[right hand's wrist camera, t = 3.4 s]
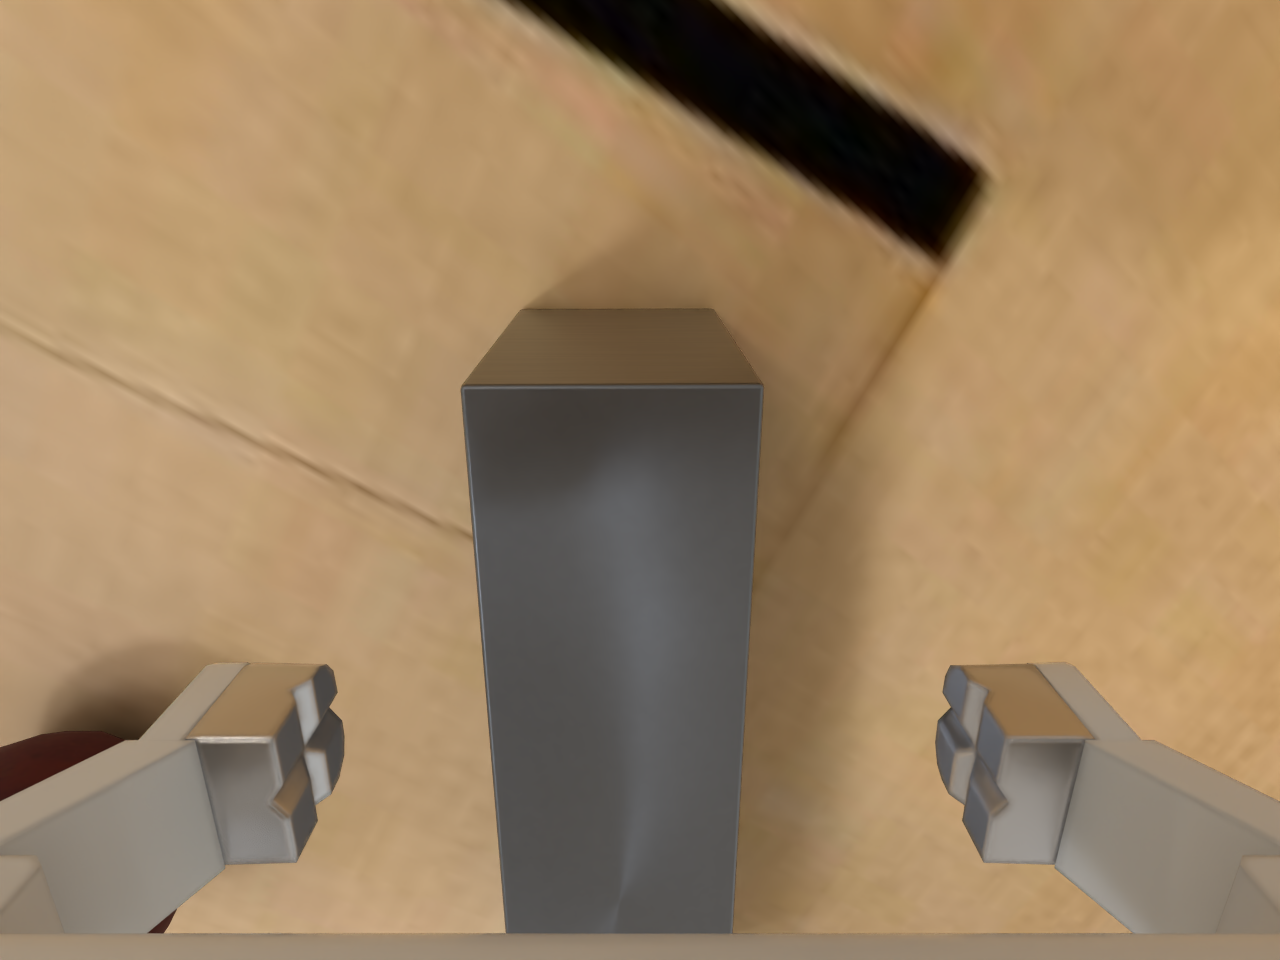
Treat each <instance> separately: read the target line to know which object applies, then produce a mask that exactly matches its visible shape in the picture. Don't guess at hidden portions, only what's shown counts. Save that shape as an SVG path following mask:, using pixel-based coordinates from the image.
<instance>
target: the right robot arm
mask: <svg viewBox="0 0 1280 960" xmlns="http://www.w3.org/2000/svg"><path fill="white" fill-rule="evenodd" d="M336 694H337V687H336V682H335V677H334V672H333V670H332V669H331V668H330V667H329V666H328V665H327V664H288V663H252V664H251V663H248V662H244V663H213V664H210V665H206V666H205V667H204V668H203V669H202V670H201V671H200V673H199V674H198V675H197V676H196V677H195V678H194V679H193V680H192V681H191V683H190V684H189V685H188V686H187V687H186V688H185V689H184V690H183V691H182V692H181V694H180V695H179V696H178V697H177V698H176V699H175V700H174V701H173V702H172V703H171V705H170V706H169V707H168V708H167V709H166V710H165V711H164V712H163V713H162V714H161V716H160V717H159V718H158V719H157V720H156V721H155V722H154V723H153V724H152V726H151V727H150V728H149V729H148V730H147V731H146V732H145V733H144V734H143V735H142V737H141V738H140V739H139V740H125V741H123V742H121V743H119V744H117V745H115V746H113V747H111V748H109V749H107V750H105V751H102V752H100V753H98V754H96V755H94V756H92V757H90V758H88V759H86V760H84V761H82V762H80V763H78V764H76V765H74V766H72V767H70V768H68V769H66V770H64V771H62V772H59V773H57V774H55V775H53V776H51V777H49V778H47V779H45V780H43V781H41V782H39V783H37V784H35V785H33V786H31V787H29V788H27V789H25V790H23V791H21V792H18V793H16V794H14V795H12V796H10V797H8V798H6V799H4V800H2V801H0V960H1280V801H1278V800H1276V799H1273V798H1271V797H1269V796H1267V795H1265V794H1263V793H1261V792H1259V791H1257V790H1255V789H1253V788H1251V787H1249V786H1247V785H1245V784H1243V783H1241V782H1239V781H1237V780H1235V779H1233V778H1231V777H1229V776H1226V775H1224V774H1222V773H1220V772H1218V771H1216V770H1214V769H1212V768H1210V767H1208V766H1206V765H1204V764H1202V763H1200V762H1198V761H1196V760H1194V759H1192V758H1190V757H1188V756H1186V755H1184V754H1182V753H1180V752H1177V751H1175V750H1173V749H1171V748H1169V747H1167V746H1165V745H1163V744H1161V743H1159V742H1157V741H1155V740H1141V739H1140V738H1139V737H1138V735H1137V734H1136V733H1135V732H1134V731H1133V730H1132V729H1131V728H1130V727H1129V726H1128V724H1127V723H1126V722H1125V721H1124V720H1123V719H1122V718H1121V717H1120V716H1119V714H1118V713H1117V712H1116V711H1115V710H1114V709H1113V708H1112V707H1111V706H1110V705H1109V703H1108V702H1107V701H1106V700H1105V699H1104V698H1103V697H1102V696H1101V695H1100V694H1099V692H1098V691H1097V690H1096V689H1095V688H1094V687H1093V686H1092V685H1091V684H1090V682H1089V681H1088V680H1087V679H1086V678H1085V677H1084V676H1083V675H1082V674H1081V673H1080V671H1079V670H1078V669H1077V668H1076V667H1075V666H1073V665H1071V664H1068V663H1066V662H1052V663H1027V664H999V665H950V667H949V669H948V671H947V673H946V676H945V681H944V686H943V694H944V696H945V698H946V699H947V701H948V703H949V704H950V706H951V708H950V709H949V710H948V711H947V712H946V713H945V714H944V715H943V716H942V717H941V718H940V719H939V720H938V724H937V732H936V741H935V745H936V756H937V765H938V768H939V772H940V775H941V778H942V781H943V783H944V785H945V787H946V789H947V791H948V793H949V795H951V796H952V797H954V798H955V799H957V800H958V801H959V802H961V803H962V804H964V805H965V807H964V813H963V819H962V821H963V823H964V825H965V827H966V829H967V831H968V833H969V835H970V837H971V839H972V841H973V843H974V845H975V846H976V848H977V850H978V852H979V854H980V856H981V858H982V860H983V862H984V863H1016V864H1052V865H1055V869H1056V870H1058V871H1059V872H1060V873H1061V874H1063V875H1064V876H1065V877H1066V878H1067V879H1069V880H1070V881H1071V882H1072V883H1073V884H1075V885H1076V886H1077V887H1078V888H1079V889H1081V890H1082V891H1083V892H1084V893H1085V894H1087V895H1088V896H1089V897H1090V898H1091V899H1093V900H1094V901H1095V902H1096V903H1097V904H1099V905H1100V906H1101V907H1102V908H1104V909H1105V910H1106V911H1107V912H1108V913H1110V914H1111V915H1112V916H1113V917H1114V918H1116V919H1117V920H1118V921H1119V922H1120V923H1122V924H1123V925H1124V926H1125V927H1126V928H1128V929H1129V930H1130V931H1131V932H1132V933H1008V934H561V933H321V934H160V933H148V932H149V931H150V930H151V929H153V928H154V927H155V926H156V925H157V924H159V923H160V922H161V921H162V920H163V919H165V918H166V917H167V916H168V915H170V914H171V913H172V912H173V911H174V910H176V909H177V908H178V907H179V906H180V905H182V904H183V903H184V902H185V901H186V900H188V899H189V898H190V897H191V896H192V895H194V894H195V893H196V892H197V891H199V890H200V889H201V888H202V887H203V886H205V885H206V884H207V883H208V882H209V881H211V880H212V879H213V878H214V877H215V876H217V875H218V874H219V873H220V872H221V871H223V870H224V869H225V865H228V864H263V863H296V862H297V860H298V858H299V856H300V854H301V852H302V850H303V849H304V847H305V845H306V843H307V841H308V839H309V837H310V835H311V833H312V831H313V829H314V827H315V825H316V823H317V821H318V819H317V813H316V807H315V805H316V804H318V803H319V802H321V801H322V800H323V799H325V798H326V797H328V796H329V795H331V793H332V791H333V789H334V787H335V785H336V783H337V781H338V779H339V776H340V771H341V767H342V762H343V758H344V730H343V724H342V720H341V719H340V718H339V717H338V716H337V715H336V714H335V713H334V712H333V711H332V710H331V709H330V708H329V706H330V704H331V703H332V701H333V699H334V698H335V696H336Z"/></svg>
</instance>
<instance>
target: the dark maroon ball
mask: <svg viewBox="0 0 1280 960" xmlns="http://www.w3.org/2000/svg"><path fill="white" fill-rule="evenodd" d="M123 741H125V740H124V739H121V738H118V737H116V736H113V735H110V734H108V733H105V732H102V731H64V732H57V733H49V734H41V735H38V736H35V737H32V738H29V739H26V740H22V741H19V742H16V743H13V744H10V745H7V746H3V747H0V801H2V800H4V799H6V798H8V797H10V796H12V795H14V794H16V793H18V792H21V791H23V790H25V789H27V788H29V787H31V786H33V785H35V784H37V783H39V782H41V781H43V780H45V779H47V778H49V777H51V776H53V775H55V774H57V773H59V772H62V771H64V770H66V769H68V768H70V767H72V766H74V765H76V764H78V763H80V762H82V761H84V760H86V759H88V758H90V757H92V756H94V755H96V754H98V753H100V752H102V751H105V750H107V749H109V748H111V747H113V746H115V745H117V744H119V743H121V742H123ZM176 910H177V909H176ZM176 910H174V911H173V912H172V913H171V914H170V915H168V916H167V917H166V918H165V919H163V920H162V921H161V922H160V923H159V924H157V925H156V926H155V927H154V928H153V929H151V930H150V931H149V932H148V933H160V934H163V933H164V932H165V930H166V929H167V927H168V926H169V924H170V922H171V920H172V918H173V916H174V914H175V912H176Z"/></svg>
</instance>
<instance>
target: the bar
mask: <svg viewBox="0 0 1280 960" xmlns="http://www.w3.org/2000/svg"><path fill="white" fill-rule="evenodd" d="M763 397H764V386H763V384H762V382H761V381H760V379H759V378H758V376H757V375H756V373H755V372H754V370H753V369H752V367H751V366H750V364H749V363H748V361H747V359H746V358H745V356H744V355H743V353H742V352H741V350H740V349H739V347H738V346H737V344H736V343H735V341H734V340H733V338H732V337H731V335H730V334H729V332H728V330H727V329H726V327H725V326H724V324H723V323H722V321H721V320H720V318H719V317H718V315H717V314H716V312H715V311H714V310H713V309H522V310H520V311H519V312H518V314H517V315H516V316H515V318H514V319H513V320H512V321H511V323H510V324H509V325H508V327H507V328H506V329H505V330H504V332H503V333H502V334H501V336H500V337H499V338H498V339H497V341H496V342H495V343H494V345H493V346H492V347H491V349H490V350H489V351H488V352H487V354H486V355H485V356H484V358H483V359H482V360H481V361H480V363H479V364H478V365H477V367H476V368H475V369H474V370H473V372H472V373H471V374H470V376H469V377H468V378H467V379H466V381H465V382H464V383H463V385H462V386H461V400H462V412H463V424H464V436H465V448H466V460H467V472H468V484H469V496H470V508H471V520H472V532H473V544H474V556H475V568H476V580H477V592H478V604H479V616H480V628H481V640H482V652H483V664H484V676H485V688H486V700H487V712H488V724H489V736H490V749H491V761H492V773H493V785H494V797H495V809H496V821H497V833H498V845H499V857H500V869H501V881H502V893H503V905H504V917H505V929H506V933H561V934H733V917H734V900H735V882H736V865H737V848H738V830H739V813H740V796H741V778H742V761H743V744H744V726H745V709H746V692H747V674H748V657H749V640H750V622H751V605H752V588H753V570H754V553H755V536H756V518H757V501H758V484H759V466H760V449H761V432H762V414H763Z"/></svg>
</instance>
